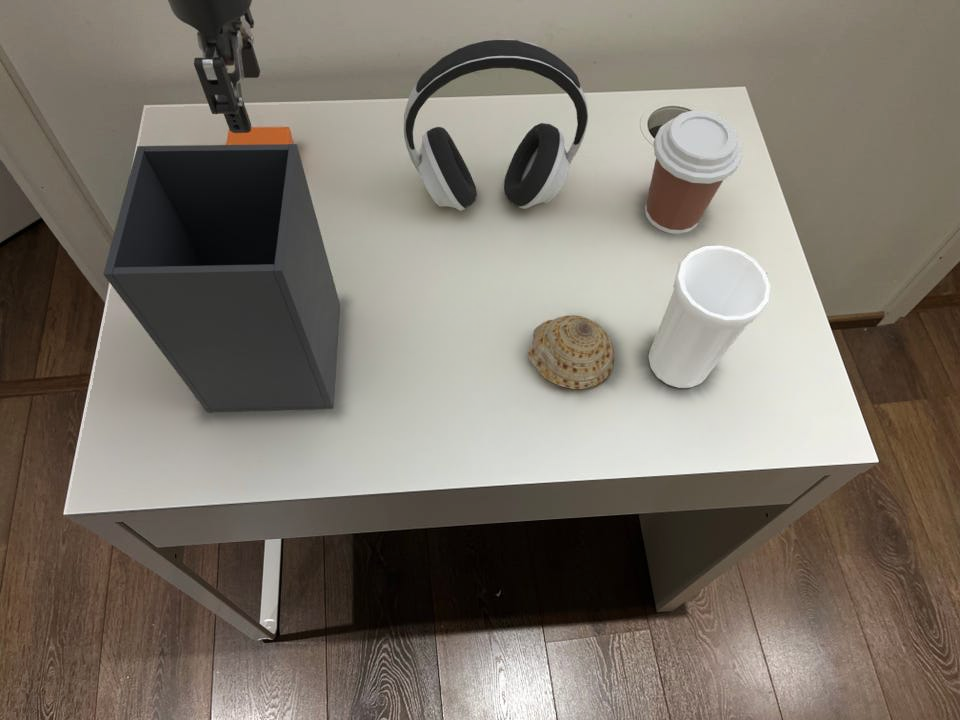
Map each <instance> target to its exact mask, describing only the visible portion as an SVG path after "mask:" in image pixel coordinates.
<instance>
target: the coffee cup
mask: <svg viewBox="0 0 960 720" xmlns="http://www.w3.org/2000/svg"><path fill="white" fill-rule="evenodd" d="M653 152H654V156H655V162H654V166H653V170H652V176H651V179H650V184H649V189H648V193H647V196H646V197H647V198H646V202H645V205H644V210H645V211H644V212H645V216H646V219H648V221H649V224H651V225H652V226H654V228H656V229H657V230H659V231H663V232H665V233H667V234H674V235H675V234H676V235H681V234H685V233H689V232H691V231H692V230H693V229H695V228H696V227H697V226H698V224H699V223H700V220H701V218H702V217H703V215H704V213H706V210H707V208H709V205H710V203H711V202H712V200H713V199H714V197H715V195H716V193H717V192H718V190H719V188H720V187H721V185H722V183H723V182H724V181H725V180H727V179H728V178H729V177H731V176H732V175H733V174H735V172H737V170H738V168H739V165H740V162H741V160H742V157H743V151H742V146H741V141H740V140H739V139H738V133H737V130H736V129H735V127H734V126H733V125H732V123H731V122H730V121H729V120H727V119H725V118H724V117H723V116H721V115H720V114H718V113H714V112H711V111H708V110H695V109H694V110H690V111H686V112H682V113H680V114H678V115H676V117H674V118H671V119H669V121H667V122H666V123H664V124H663V125H661V126H660V127H659V128H658V131H657V133H656V135H655V137H654V140H653Z"/></svg>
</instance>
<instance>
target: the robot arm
mask: <svg viewBox="0 0 960 720" xmlns="http://www.w3.org/2000/svg"><path fill="white" fill-rule="evenodd" d="M252 1H253V0H167V2H168V4H169V6H170V9H171V11H172V13H173V15H174V16H175V17H176V18H177V19H178V20H179V21H181V22H183V23H184V24H186V25H188V26H190V27H192V28H194V29H195V30H196V31H197V32H196V38H197V45H198V48H199V50H201V53H202V57H194V60H193V66H194V68H195V71H196V74H197V77H198V79H199V82H200V85H201V88H202V91H203V94H204V96H205V99H206V102H207V103H208V107H209V110H210V112H211V114H212V115H223V116H224V119H225V122H226V124H227V126H228V130H229V129H230V131H231V132H233V133H249V132H250V131H251V127H252V122H251V119H250V117H249V113H248V110H247V108H246V105H245V101H244V97H243V93H242V85H241V83H242V81H244V79H258V78H259V77H260V75H261V68H260V65H259V62H258V59H257V56H256V52H255V48H254V42H255V38H254V36H253V33H252V31H251V30H252V29H254V27H255V26H254V25H255V21H254V19H253V15H252V12H251V9H250V7H251V5H252ZM232 66H234V70H233V71H232V72H228V71H229V69H228V68H229V67H232Z"/></svg>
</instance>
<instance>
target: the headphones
mask: <svg viewBox="0 0 960 720" xmlns="http://www.w3.org/2000/svg"><path fill="white" fill-rule="evenodd" d="M490 69H515V70H522V71H526V72H532V73H535V74H537V75H538V76H542V77H544V78H546V79H547V80H550V81H552V82H553V83H554V84H555V85H557V86H558V87H560V89H562V90H563V91H564V92H565V93H566V94H567V95H568V97H569V98H570V100H571V101H572V103H573V105H574V108H575V111H576V112H575V113H576V123H577V124H576V130H575V135H574V139H573V142H572V143H571V145H570V147H569V149H568V151H567V149H566V146H565V135H564V133H563V132H562V131H561V130H560V129H559V128H558V127H556V126H554V125H553V124H551V123H544V122H540V123H538V124H536V125H533V127H532V128H531V129H530V130H528V132H527V133H526V134H525V135H524V137H523V138H522V140H521V141H520V143H519V144H518V146H517V147H516V150H515V152H514V154H513V155H512V158H511V160H510V163H509V165H508V167H507V170H506V173H505V175H504V182H503V192H504V196H505V197H506V198H507V200H508V201H509V202H510V203H511V204H512V205H514V206H515V207H516V208H520V209H530V208H531V207H534V206H535V205H537V204H545V203H550V202H551V201H552V200H553V199H554V198H556V196H557V195H558V194H559V192H560V191H561V189H562V188H563V186H564V184H565V182H566V179H567V176H568V175H569V169H570V164H571V163H572V161H573V160H574V159H575V156H576V155H577V153H578V151H579V149H580V147H581V145H582V143H583V141H584V138H585V135H586V131H587V128H588V123H589V122H588V121H589V110H588V109H589V107H588V102H587V97H586V95H585V93H584V91H583V88H582V87H581V83H580V81H579V77H578V74H576V73H575V71H574V70H573V69H572V67H570V66H569V65H568V64H567V63H566V62H565V61H564V60H562V59H561V58H560V57H559V56H557V55H556V54H554V53H552V52H550V51H549V50H548V49H546V48H544V47H541V46H539V45H537V44H535V43H532V42H527V41H523V40H518V39H512V38H504V39H503V38H500V39H497V38H496V39H485V40H480V41H476V42H473V43H470V44H467V45H464V46H461V47H459V48H457V49H455V50H453V51H451V52H449V53H447V54H445V56H443V57H442V58H440V59H439V60H438V61H436V62H435V63H434V64H432V65H431V66H430V67H429V68H428V69H427V70H426V71H425V72H424V73H422V74H421V75H420V77H419V79H418V81H417V82H416V84H415V85H414V87H413V89H412V90H411V93H410V94H409V97H408V100H407V101H406V102H407V103H406V106H405V109H404V114H403V138H404V143H405V146H406V149H407V152H408V156H409V158H410V161H411V163H412V164H413V166H414V168H415V170H416V171H417V173H418V174H419V176H420V179H421V182H422V183H423V186H424V187H425V189H426V191H427V193H428V194H429V196H430V197H431V199H432V200H433V201H434V202H435V204H436V205H438V206H439V207H450V208H454V209H456V210H458V211H464V210H466V209H468V208H469V207H470V206H471V205H473V204H474V203H475V201H476V200H477V197H478V190H477V186H476V183H475V181H474V178H473V176H472V174H471V172H470V170H469V168H468V166H467V164H466V162H465V160H464V158H463V156H462V154H461V153H460V150H459V149H458V147H457V146H456V143H455V142H454V140H453V138H452V137H451V135H450V133H449V132H448V131H447V130H446V128H445V127H442V126H435V127H431V128H430V129H429V130H427V131H426V132H424V133H423V134H422V138H421V145H420V148H419V150H418V151H417V149H416V147H415V141H414V128H415V122H416V119H417V116H418V114H419V111H420V110H421V108H422V107H423V106H424V104H425V103H426V102H427V101H428V99H429V98H430V97H431V96H433V94H435V93H436V92H437V91H439V90H440V89H441V88H443V87H444V86H446V85H448V84H449V83H450V82H452V81H454V80H456V79H458V78H460V77H462V76H466V75H468V74H472V73H475V72H479V71H486V70H490Z"/></svg>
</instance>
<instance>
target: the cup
mask: <svg viewBox="0 0 960 720" xmlns="http://www.w3.org/2000/svg"><path fill="white" fill-rule="evenodd" d="M771 292H772V288H771V284H770V281H769V279H768V276H767V272H766V271H765V270H764V269H763V267H762V266H761V265H760V264H759V262H757V261H756V259H755V258H753V257H751V256H750V255H748V254H746V253H745V252H743V251H742V250H741V249H736V248H733V247H729V246H725V245H705V246H702V247H700V248H698V249H695V250H692V251H690V252H688V253H687V254H686V255H685V256H684V257H683V259H682V260H681V261H679V263H678V265H677V269H676V273H675V277H674V281H673V291H672V293H671V296H670V299H669V301H668V303H667V306H666V309H665V311H664V314H663V317H662V319H661V322H660V324H659V327H658V329H657V332H656V335H655V337H654V340H653V341H652V342H653V343H652V345H651V346H650V348H649V353H648V361H649V366H650V369H651V370H652V372H653V374H654V375H655V376H656V378H657V379H659V380H661V381H662V382H663V383H665V385H668V386H671V387H675V388H677V389H689V388H690V389H691V388H693V387H696V386H698V385H700V384H702V383H704V381H705V379H706V378H707V377H708V376H709V374H710V373H711V372H712V371H713V370H714V368H715V367H716V366H717V364H718V363H719V362H720V361H721V360H722V359H723V356H725V354H726V353H727V352H728V350H730V348H731V347H732V345H733V344H734V343H735V342H736V340H737V339H738V338H739V337H740V335H741V334H742V333H743V332H744V330H745V329H746V327H747V326H748V325H749V324H751V323H753V322H754V321H755V320H756V319H757V318H758V317H760V316H761V314H762V313H763V312H764V310H765V309H766V308H767V306H768V305H769V304H770V298H771Z"/></svg>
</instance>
